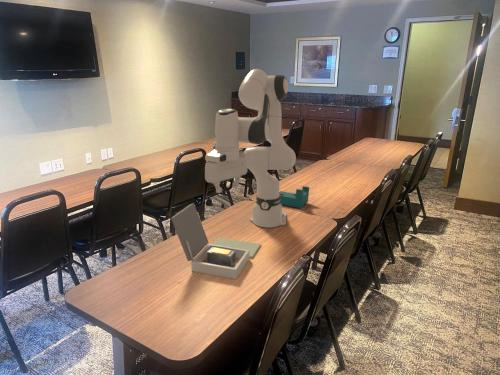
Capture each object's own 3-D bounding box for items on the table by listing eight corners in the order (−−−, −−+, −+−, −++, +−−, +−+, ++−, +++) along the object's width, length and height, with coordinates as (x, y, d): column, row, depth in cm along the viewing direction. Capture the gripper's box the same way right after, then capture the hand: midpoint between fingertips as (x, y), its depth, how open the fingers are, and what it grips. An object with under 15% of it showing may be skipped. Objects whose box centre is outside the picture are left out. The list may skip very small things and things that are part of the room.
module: (212, 260, 144) (212, 246, 142) (235, 264, 141) (235, 250, 139) (207, 265, 140) (207, 251, 138) (230, 270, 137) (230, 255, 135)
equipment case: (204, 251, 151) (203, 224, 147) (249, 258, 145) (249, 231, 141) (186, 270, 136) (185, 241, 132) (235, 279, 130) (235, 249, 127)
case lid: (208, 242, 149) (205, 243, 149) (193, 203, 145) (190, 203, 146) (191, 260, 134) (187, 261, 135) (174, 217, 131) (170, 218, 131)
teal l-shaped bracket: (307, 204, 209) (309, 187, 207) (300, 208, 200) (302, 190, 197) (280, 199, 218) (281, 182, 215) (272, 202, 208) (273, 185, 206)
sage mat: (218, 239, 162) (218, 237, 162) (260, 245, 156) (260, 243, 156) (207, 250, 151) (207, 249, 151) (252, 258, 145) (252, 256, 145)
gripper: (238, 149, 141) (238, 183, 144) (201, 156, 125) (202, 194, 129) (251, 151, 137) (250, 185, 141) (214, 158, 122) (215, 197, 125)
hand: (227, 189), depth 135 cm, fingers open, 8 cm apart
